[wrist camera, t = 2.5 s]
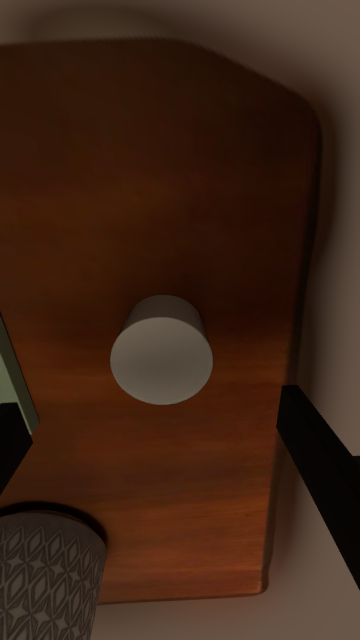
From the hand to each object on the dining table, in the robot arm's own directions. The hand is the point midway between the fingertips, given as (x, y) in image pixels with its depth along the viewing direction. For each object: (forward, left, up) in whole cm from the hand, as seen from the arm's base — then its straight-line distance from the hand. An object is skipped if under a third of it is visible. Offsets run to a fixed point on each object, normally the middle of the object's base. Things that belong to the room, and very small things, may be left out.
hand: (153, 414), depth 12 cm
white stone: (0, 0, -10) cm, 10 cm away
